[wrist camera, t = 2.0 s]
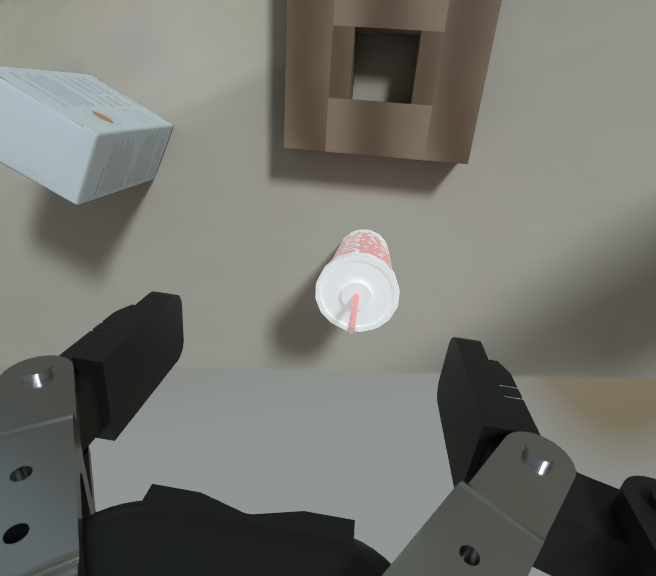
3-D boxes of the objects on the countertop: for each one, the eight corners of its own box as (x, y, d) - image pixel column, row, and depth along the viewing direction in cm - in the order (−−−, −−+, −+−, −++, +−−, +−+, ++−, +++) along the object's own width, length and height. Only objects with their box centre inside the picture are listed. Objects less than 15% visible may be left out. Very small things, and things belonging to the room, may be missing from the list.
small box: (75, 133, 36) (-36, 144, 27) (91, 72, 34) (-24, 61, 25) (155, 181, 37) (75, 208, 28) (176, 125, 35) (97, 134, 25)
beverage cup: (394, 217, 36) (397, 280, 23) (399, 281, 38) (405, 369, 26) (326, 224, 37) (293, 288, 24) (335, 286, 39) (310, 373, 27)
